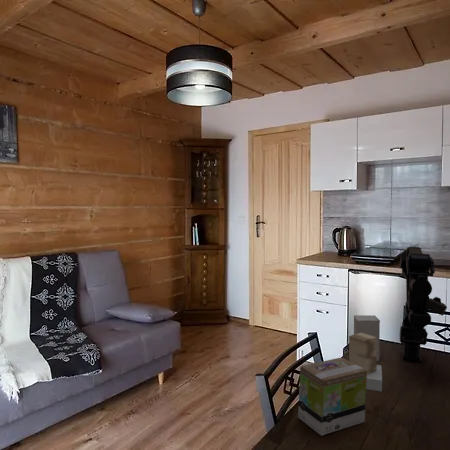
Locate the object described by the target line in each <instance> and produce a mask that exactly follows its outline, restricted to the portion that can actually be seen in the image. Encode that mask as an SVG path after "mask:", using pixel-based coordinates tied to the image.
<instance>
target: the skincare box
mask: <svg viewBox="0 0 450 450" xmlns="http://www.w3.org/2000/svg"><path fill="white" fill-rule="evenodd" d="M380 323H381V320H380V318H378V317H377V316H376V315H372V314H371V315H368V314H367V315H357V314H354V315H353V335H354V334H358V333H364V334H368V335H371V336H374V337H377V362H380V340H381V339H380V332H381V331H380V330H381V329H380V328H381V327H380V326H381V325H380Z"/></svg>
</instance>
